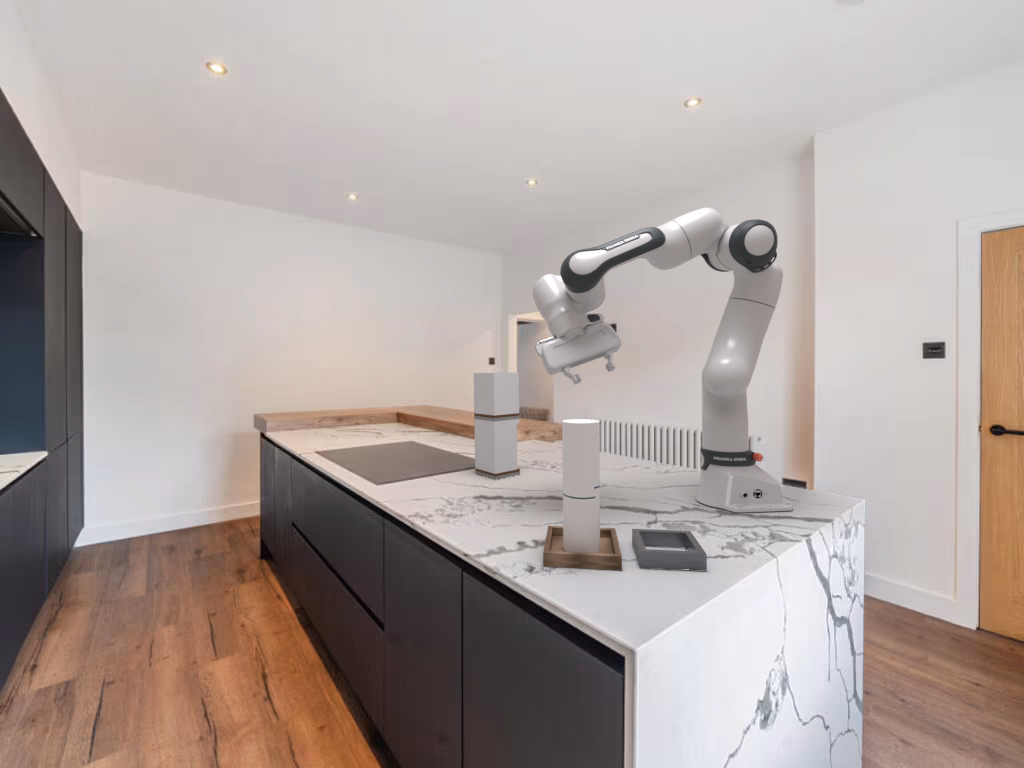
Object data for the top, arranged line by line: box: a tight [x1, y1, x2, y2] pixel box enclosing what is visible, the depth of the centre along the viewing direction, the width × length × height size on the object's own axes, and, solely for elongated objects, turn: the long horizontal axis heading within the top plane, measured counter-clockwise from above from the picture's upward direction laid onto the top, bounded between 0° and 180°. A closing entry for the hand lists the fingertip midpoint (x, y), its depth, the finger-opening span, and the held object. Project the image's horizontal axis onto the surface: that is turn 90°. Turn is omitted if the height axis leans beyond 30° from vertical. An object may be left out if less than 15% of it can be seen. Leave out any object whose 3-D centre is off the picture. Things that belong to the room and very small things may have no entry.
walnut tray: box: [542, 525, 623, 571], centre depth 87 cm, size 14×14×2 cm
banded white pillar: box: [473, 371, 521, 481], centre depth 151 cm, size 11×11×35 cm
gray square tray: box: [631, 528, 708, 571], centre depth 84 cm, size 11×11×3 cm
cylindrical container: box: [561, 418, 601, 553], centre depth 86 cm, size 7×7×25 cm
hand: (595, 376), depth 106 cm, fingers open, 8 cm apart
